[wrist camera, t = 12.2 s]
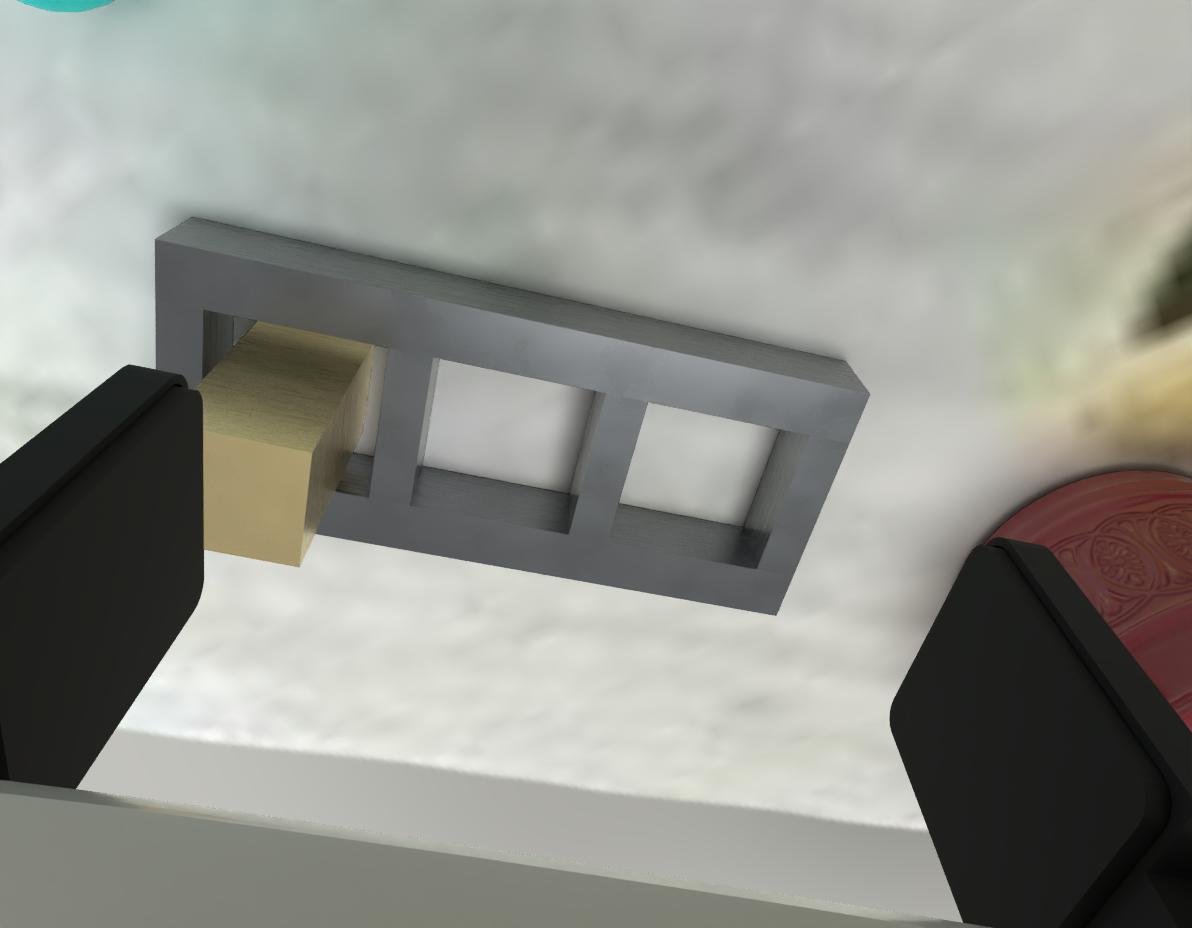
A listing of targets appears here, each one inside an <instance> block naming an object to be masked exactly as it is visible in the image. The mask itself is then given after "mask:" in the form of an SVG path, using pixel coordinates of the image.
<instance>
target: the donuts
mask: <svg viewBox="0 0 1192 928" xmlns="http://www.w3.org/2000/svg"><path fill="white" fill-rule="evenodd" d="M18 1H20V2H22V3H24V4H27V5H30V6H34V7H37V8H41V9H44V10H48V11H55V12H82V11H86V10H90V9H93V8H97V7H100V6H103V5H106V4H109V3H110V2H112V1H114V0H18Z"/></svg>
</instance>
